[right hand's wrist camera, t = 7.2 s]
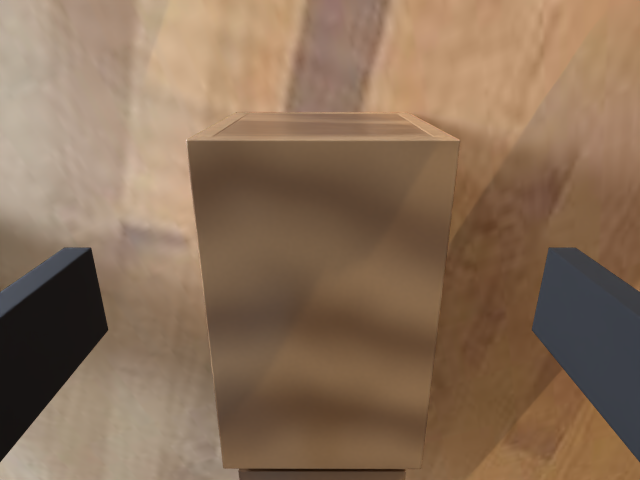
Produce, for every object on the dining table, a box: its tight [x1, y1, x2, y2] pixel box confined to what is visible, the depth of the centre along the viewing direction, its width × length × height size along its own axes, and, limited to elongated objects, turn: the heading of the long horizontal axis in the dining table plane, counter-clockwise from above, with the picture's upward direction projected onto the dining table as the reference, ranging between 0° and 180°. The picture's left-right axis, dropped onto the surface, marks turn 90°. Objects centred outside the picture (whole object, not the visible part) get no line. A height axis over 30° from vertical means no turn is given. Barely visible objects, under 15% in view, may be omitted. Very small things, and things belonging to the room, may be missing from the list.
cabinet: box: [186, 112, 460, 469], centre depth 26 cm, size 18×11×11 cm, turn 0°
